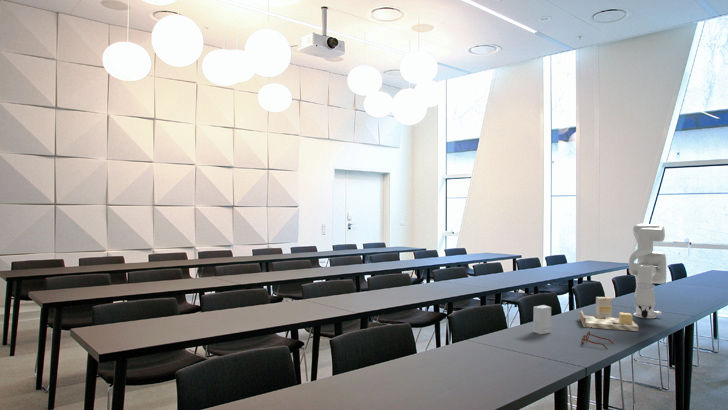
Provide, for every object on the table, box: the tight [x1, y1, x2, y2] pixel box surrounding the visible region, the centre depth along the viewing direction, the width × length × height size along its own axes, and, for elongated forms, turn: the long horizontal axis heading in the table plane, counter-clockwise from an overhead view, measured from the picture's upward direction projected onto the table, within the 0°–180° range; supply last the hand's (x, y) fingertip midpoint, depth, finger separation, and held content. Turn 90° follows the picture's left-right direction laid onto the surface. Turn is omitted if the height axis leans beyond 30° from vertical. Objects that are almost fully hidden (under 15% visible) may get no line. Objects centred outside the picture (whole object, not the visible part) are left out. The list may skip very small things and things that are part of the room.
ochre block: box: [618, 311, 633, 324], centre depth 290 cm, size 6×6×5 cm
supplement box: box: [595, 296, 613, 318], centre depth 312 cm, size 8×5×13 cm, turn 84°
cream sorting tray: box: [579, 310, 640, 332], centre depth 293 cm, size 29×20×6 cm
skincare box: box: [532, 304, 552, 335], centre depth 275 cm, size 8×6×15 cm
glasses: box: [581, 331, 615, 350], centre depth 253 cm, size 13×13×5 cm
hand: (644, 317), depth 287 cm, fingers closed
